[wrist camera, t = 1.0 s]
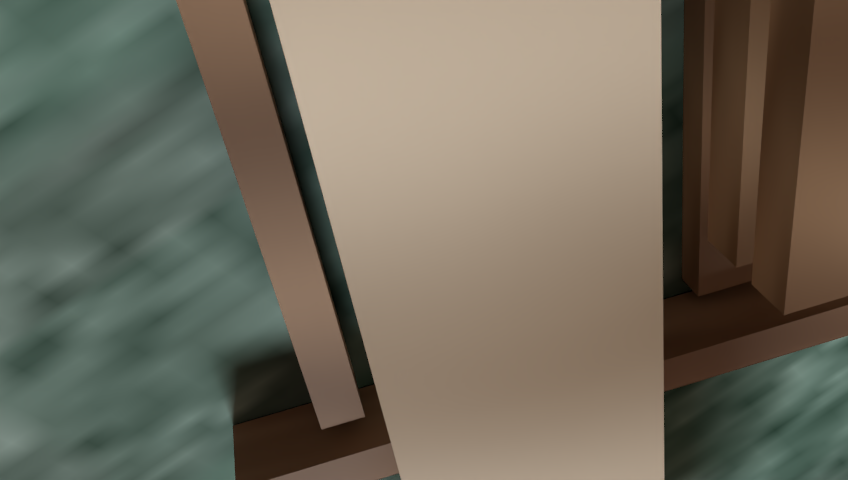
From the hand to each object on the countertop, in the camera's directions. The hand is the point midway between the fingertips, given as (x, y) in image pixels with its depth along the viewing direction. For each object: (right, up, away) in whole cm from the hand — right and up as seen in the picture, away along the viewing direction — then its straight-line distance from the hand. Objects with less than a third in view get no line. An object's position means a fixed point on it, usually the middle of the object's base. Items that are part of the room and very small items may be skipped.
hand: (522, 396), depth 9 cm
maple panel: (-2, +4, +7) cm, 9 cm away
